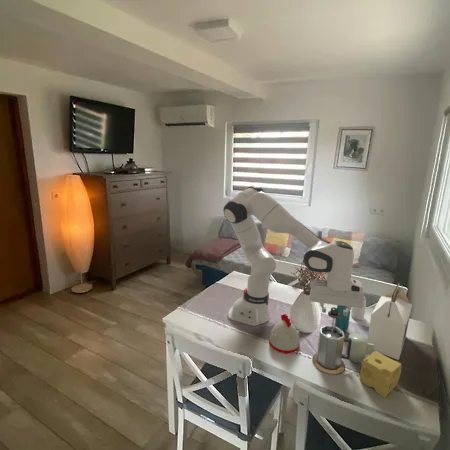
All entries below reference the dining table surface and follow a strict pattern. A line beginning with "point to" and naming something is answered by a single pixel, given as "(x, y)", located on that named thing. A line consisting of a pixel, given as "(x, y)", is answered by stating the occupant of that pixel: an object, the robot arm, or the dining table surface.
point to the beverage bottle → (342, 319)
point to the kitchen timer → (284, 336)
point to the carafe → (331, 352)
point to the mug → (359, 347)
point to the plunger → (334, 314)
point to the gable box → (390, 323)
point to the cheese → (380, 373)
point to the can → (358, 312)
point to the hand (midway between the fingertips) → (334, 313)
